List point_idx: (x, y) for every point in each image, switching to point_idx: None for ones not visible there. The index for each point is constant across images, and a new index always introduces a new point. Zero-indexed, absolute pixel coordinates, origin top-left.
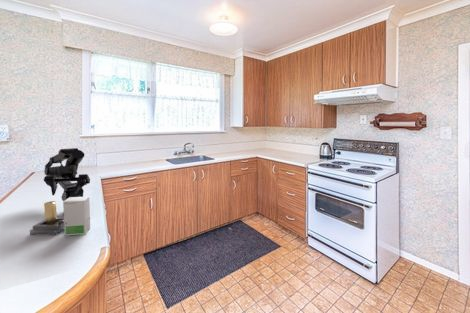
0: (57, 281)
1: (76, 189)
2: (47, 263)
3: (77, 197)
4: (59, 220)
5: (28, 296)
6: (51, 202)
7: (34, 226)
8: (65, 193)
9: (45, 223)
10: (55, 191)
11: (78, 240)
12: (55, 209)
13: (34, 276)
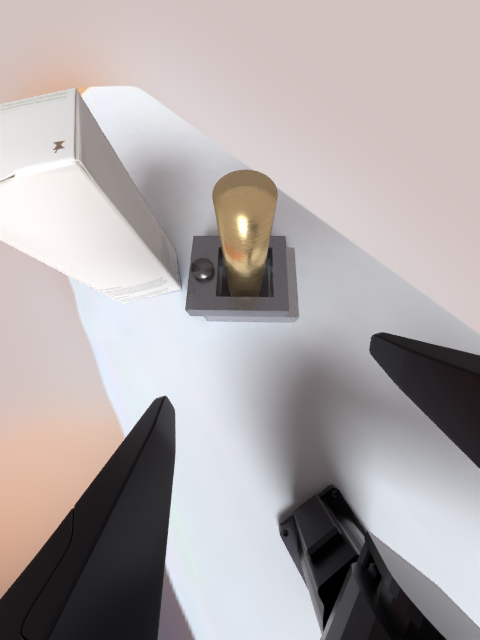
0: None
1: (127, 442)
2: (141, 153)
3: (2, 157)
4: (211, 269)
5: (119, 98)
6: (238, 199)
7: (278, 237)
8: (426, 611)
9: (271, 277)
10: (429, 412)
11: None
12: (219, 235)
13: (140, 127)
